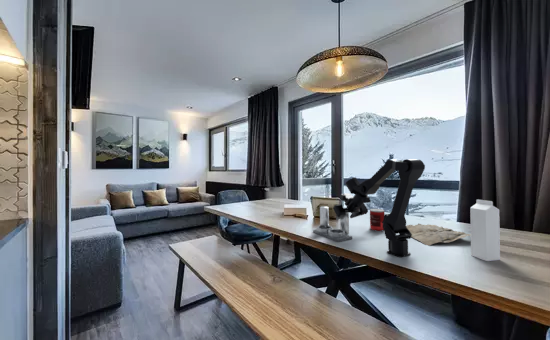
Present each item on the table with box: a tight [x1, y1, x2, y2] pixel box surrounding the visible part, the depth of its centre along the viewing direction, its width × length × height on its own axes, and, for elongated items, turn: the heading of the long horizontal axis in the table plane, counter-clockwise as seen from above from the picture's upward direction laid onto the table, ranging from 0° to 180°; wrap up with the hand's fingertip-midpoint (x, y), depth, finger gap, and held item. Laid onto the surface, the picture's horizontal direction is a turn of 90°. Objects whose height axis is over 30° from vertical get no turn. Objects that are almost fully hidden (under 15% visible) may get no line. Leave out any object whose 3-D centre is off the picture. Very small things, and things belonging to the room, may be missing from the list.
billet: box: [339, 213, 350, 235], centre depth 128 cm, size 5×5×13 cm
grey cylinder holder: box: [312, 205, 353, 243], centre depth 124 cm, size 20×9×14 cm, turn 27°
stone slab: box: [406, 223, 471, 246], centre depth 120 cm, size 33×27×5 cm
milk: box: [469, 198, 501, 262], centre depth 90 cm, size 6×6×22 cm
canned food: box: [369, 208, 386, 232], centre depth 134 cm, size 8×8×11 cm
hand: (343, 218), depth 128 cm, fingers open, 9 cm apart
